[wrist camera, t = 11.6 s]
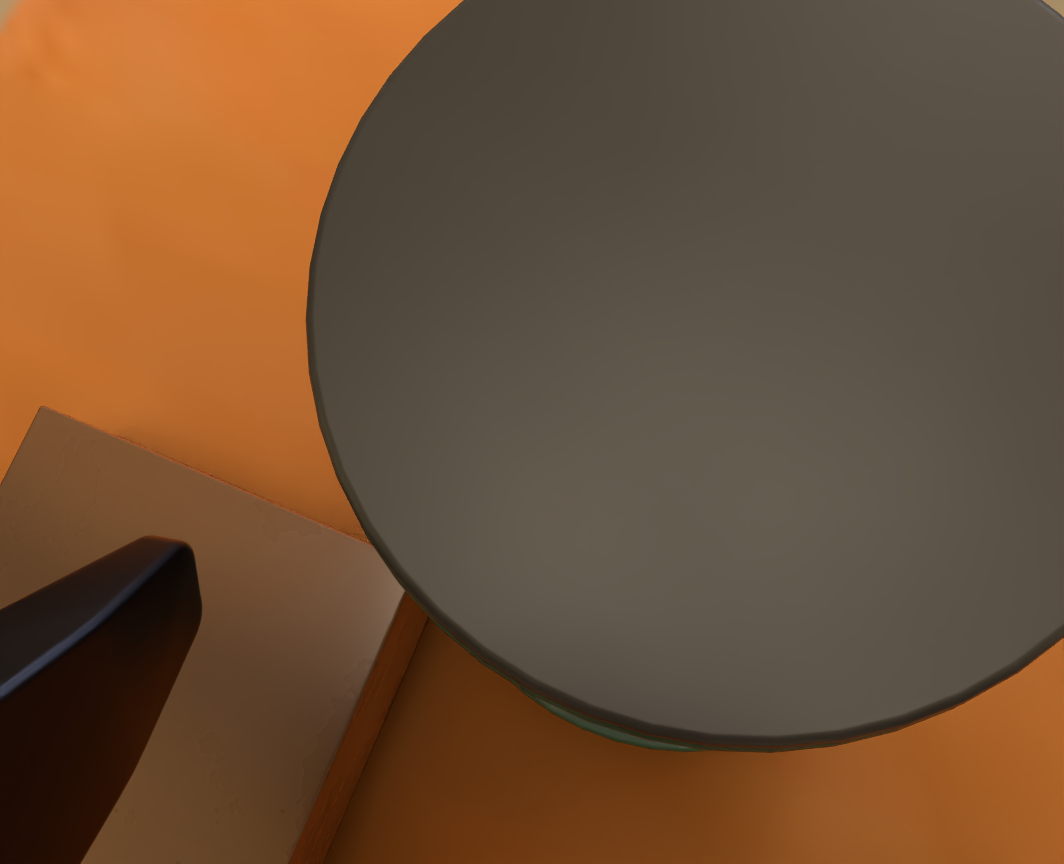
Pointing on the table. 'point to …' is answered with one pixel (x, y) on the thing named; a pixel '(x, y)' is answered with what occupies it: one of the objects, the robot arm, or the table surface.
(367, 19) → the table surface
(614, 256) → the cap
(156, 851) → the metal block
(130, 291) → the table surface
